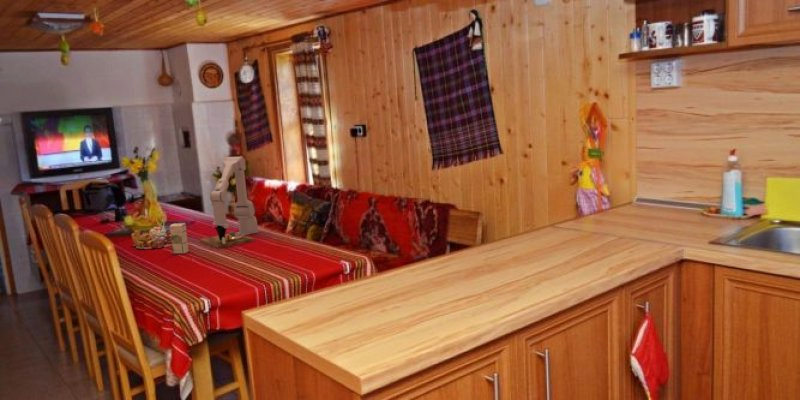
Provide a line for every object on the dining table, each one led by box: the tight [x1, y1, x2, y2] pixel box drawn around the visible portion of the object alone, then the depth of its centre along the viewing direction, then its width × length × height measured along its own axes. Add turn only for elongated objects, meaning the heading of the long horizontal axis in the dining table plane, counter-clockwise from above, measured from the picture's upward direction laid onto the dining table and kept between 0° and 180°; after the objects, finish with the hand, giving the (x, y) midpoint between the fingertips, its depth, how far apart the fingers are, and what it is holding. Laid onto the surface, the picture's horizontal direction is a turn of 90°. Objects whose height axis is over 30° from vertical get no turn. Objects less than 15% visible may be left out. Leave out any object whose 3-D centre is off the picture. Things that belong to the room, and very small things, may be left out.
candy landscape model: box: [130, 226, 172, 250], centre depth 329 cm, size 25×24×9 cm
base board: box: [199, 231, 255, 249], centre depth 327 cm, size 20×22×2 cm
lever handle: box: [222, 231, 243, 244], centre depth 323 cm, size 18×11×3 cm, turn 176°
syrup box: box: [169, 222, 189, 255], centre depth 307 cm, size 6×6×14 cm
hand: (222, 239), depth 318 cm, fingers closed, pressing on lever handle
